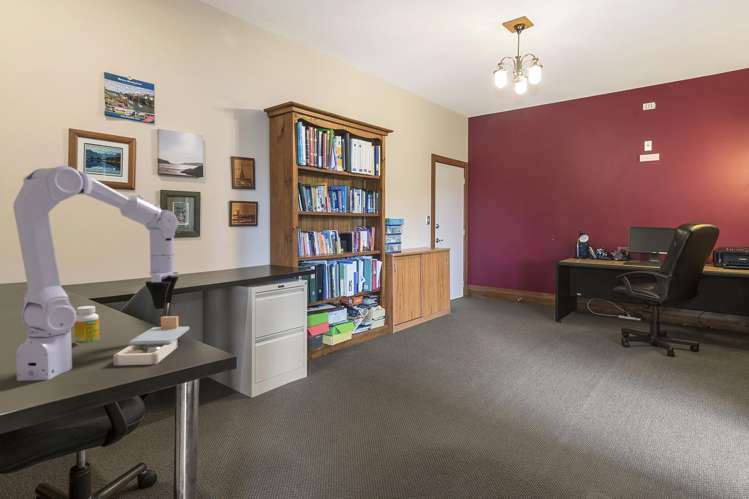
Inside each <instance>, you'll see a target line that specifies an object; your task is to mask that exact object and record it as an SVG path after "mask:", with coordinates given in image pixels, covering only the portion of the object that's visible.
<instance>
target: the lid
mask: <svg viewBox="0 0 749 499" xmlns="http://www.w3.org/2000/svg"><path fill="white" fill-rule="evenodd" d="M179 323H180V322H179V316H178V315H175V316H174V315H171V316H170V315H169V316H167V315H166V316H164V315H163V316H162V317H160V326H158V327H157V326H154V327H151V328H150V329H148V330H146V331H144V332H143V333H141V334H140V335H137V336H136V337H134V338H132V339H131V340H129V343H128V344H129V345H132V344H167V343H172V342H173V341H174V340H176V339H177V338H178V339H179V338H180V337H181V336H182V335H184V334H185V333H186V332H189V330H190V326H180V325H179Z"/></svg>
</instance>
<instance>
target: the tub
mask: <svg viewBox="0 0 749 499" xmlns="http://www.w3.org/2000/svg"><path fill="white" fill-rule="evenodd" d="M178 339H179V337H178V338H177V339H176V340H174V341H173V342H172V343H167V344H129V345H128V346H127V347H125V348H123V349H122V350H120V351H118V352H117V353H115V354H113V356H112V357H113V358H112V360H113V361H112V363H113V366H139V365H140V366H141V365H158V364H159V363H160V362H161V361H162V360H163V359H165V358H166V357H167V356H168V355H170V354H171V353H172V352H174V351H175V350H176V349H177V348H178V344H179V343H178V342H179V341H178ZM150 346H161V348H160V349H158V350H157V351H155V352H154V353H147V348H148V347H150ZM130 350H143V353H139V354H125V353H126V352H128V351H130Z"/></svg>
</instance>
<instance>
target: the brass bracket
mask: <svg viewBox="0 0 749 499" xmlns="http://www.w3.org/2000/svg"><path fill="white" fill-rule="evenodd" d="M139 353H143V350H130V351H128V352H126V353H125V354H139Z"/></svg>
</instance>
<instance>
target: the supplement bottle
mask: <svg viewBox="0 0 749 499" xmlns="http://www.w3.org/2000/svg"><path fill="white" fill-rule="evenodd" d="M76 314H77V318H76V321H75V323H74V343H75V345H77V346H79V345H82V344H83V343H85V344H86V343H91V342H95V341H96V342H97V341H98V340H100V318H99V317H100V316H99V314H97V313H96V306H95V305H84V306H78V307H77V309H76Z"/></svg>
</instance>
